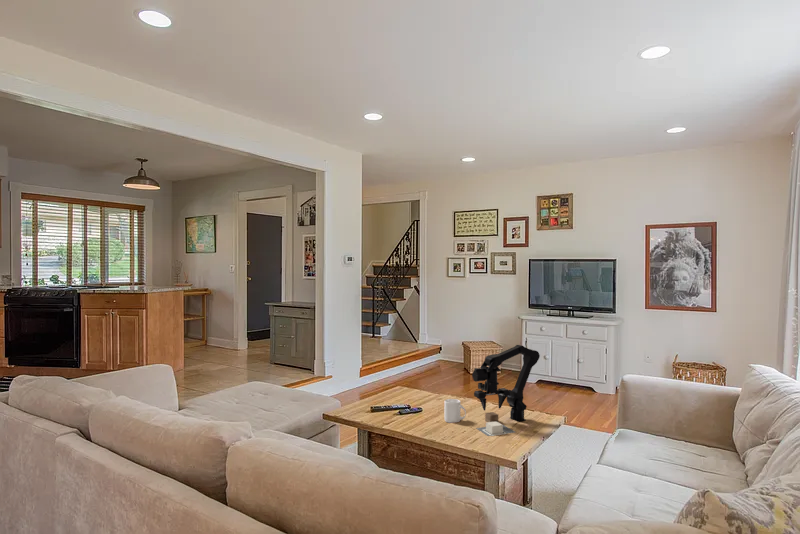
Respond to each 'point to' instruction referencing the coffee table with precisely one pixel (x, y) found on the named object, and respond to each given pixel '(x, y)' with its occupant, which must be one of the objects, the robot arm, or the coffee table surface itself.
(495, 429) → the base block
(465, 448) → the coffee table surface
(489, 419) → the walnut cube
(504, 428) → the grey flat rectangular panel
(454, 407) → the mug
